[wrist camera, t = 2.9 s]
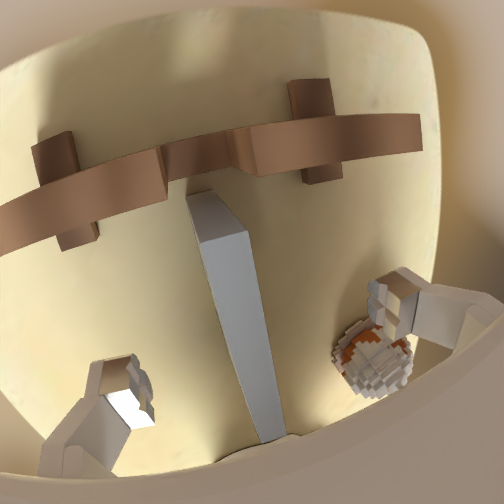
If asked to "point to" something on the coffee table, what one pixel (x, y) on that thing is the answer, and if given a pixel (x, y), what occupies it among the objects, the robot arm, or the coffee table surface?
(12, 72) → the coffee table surface
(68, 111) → the coffee table surface
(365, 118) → the walnut crosspiece
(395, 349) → the decorative ornament
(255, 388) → the grey plate
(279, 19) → the coffee table surface
